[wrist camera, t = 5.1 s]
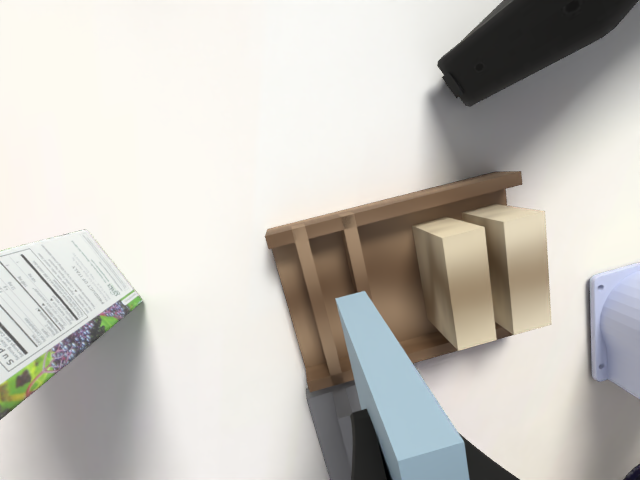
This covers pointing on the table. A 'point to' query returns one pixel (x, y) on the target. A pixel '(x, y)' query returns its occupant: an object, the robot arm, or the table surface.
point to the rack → (370, 271)
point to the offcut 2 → (516, 265)
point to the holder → (335, 425)
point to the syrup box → (54, 308)
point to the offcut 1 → (456, 280)
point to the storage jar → (634, 474)
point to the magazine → (525, 42)
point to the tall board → (398, 400)
